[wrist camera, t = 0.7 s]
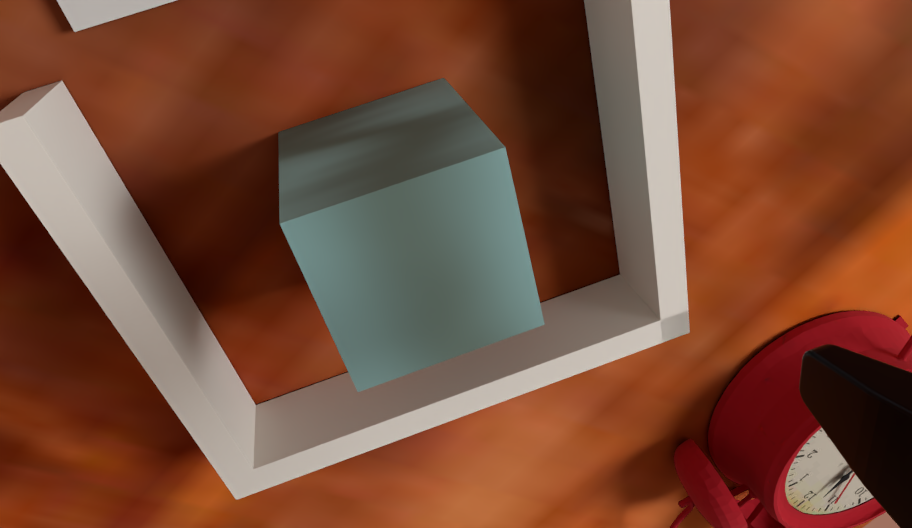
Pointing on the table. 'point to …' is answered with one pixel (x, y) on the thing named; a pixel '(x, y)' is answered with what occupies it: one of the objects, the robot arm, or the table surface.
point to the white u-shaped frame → (336, 399)
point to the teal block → (407, 231)
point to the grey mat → (102, 10)
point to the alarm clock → (785, 436)
